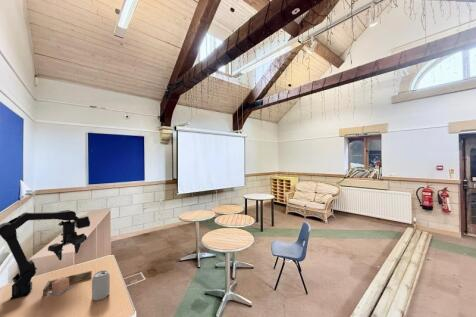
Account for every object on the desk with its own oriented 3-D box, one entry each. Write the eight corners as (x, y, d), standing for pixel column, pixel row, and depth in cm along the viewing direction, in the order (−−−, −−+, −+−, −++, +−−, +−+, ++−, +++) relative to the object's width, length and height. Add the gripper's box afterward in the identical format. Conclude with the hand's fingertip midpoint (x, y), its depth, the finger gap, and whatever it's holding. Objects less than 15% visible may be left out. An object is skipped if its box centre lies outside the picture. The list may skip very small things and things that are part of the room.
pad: (58, 295, 104) (58, 294, 104) (48, 293, 105) (48, 292, 105) (72, 286, 111) (72, 286, 111) (62, 285, 112) (62, 285, 112)
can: (112, 294, 104) (112, 270, 104) (97, 303, 97) (97, 278, 97) (103, 290, 107) (103, 268, 107) (88, 299, 100) (88, 275, 100)
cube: (51, 292, 106) (52, 282, 106) (62, 286, 111) (62, 277, 111) (59, 293, 105) (59, 283, 105) (69, 287, 110) (69, 278, 110)
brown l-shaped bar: (42, 296, 103) (43, 289, 103) (48, 287, 110) (48, 281, 110) (89, 284, 113) (89, 277, 113) (91, 276, 121) (91, 270, 121)
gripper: (62, 237, 111) (62, 265, 110) (93, 227, 129) (93, 251, 129) (47, 236, 113) (47, 263, 113) (80, 226, 132) (80, 249, 131)
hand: (68, 256), depth 121 cm, fingers open, 9 cm apart
